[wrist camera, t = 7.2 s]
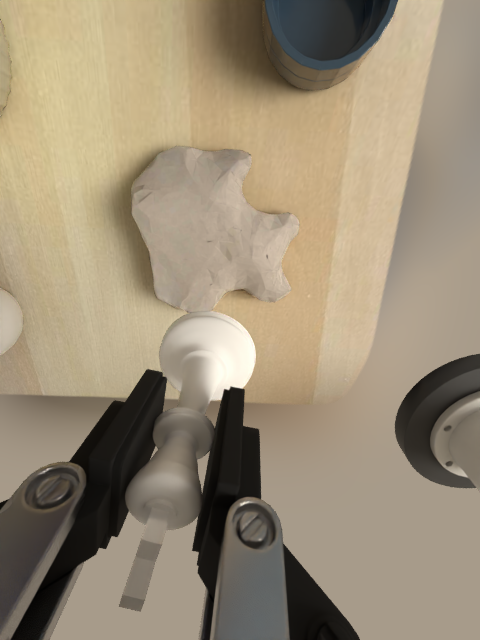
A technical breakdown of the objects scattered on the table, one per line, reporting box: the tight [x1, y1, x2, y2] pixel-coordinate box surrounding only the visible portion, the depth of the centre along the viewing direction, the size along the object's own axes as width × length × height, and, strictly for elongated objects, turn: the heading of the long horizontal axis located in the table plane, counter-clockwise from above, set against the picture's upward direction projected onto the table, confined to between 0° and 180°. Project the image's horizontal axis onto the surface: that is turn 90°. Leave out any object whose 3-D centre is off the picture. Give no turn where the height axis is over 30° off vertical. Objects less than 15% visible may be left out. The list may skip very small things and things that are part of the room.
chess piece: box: [119, 311, 256, 611], centre depth 10 cm, size 5×5×10 cm
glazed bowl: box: [262, 0, 398, 91], centre depth 19 cm, size 8×8×4 cm
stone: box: [131, 146, 299, 313], centre depth 25 cm, size 14×4×15 cm
